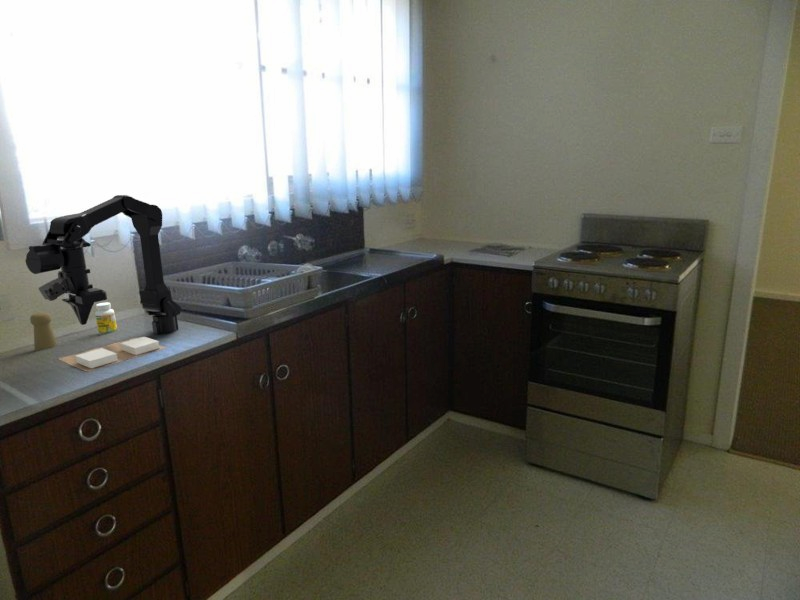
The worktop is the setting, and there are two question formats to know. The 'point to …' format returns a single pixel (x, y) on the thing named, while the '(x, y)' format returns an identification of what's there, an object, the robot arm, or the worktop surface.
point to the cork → (43, 331)
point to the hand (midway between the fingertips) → (83, 324)
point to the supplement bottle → (105, 318)
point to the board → (112, 347)
